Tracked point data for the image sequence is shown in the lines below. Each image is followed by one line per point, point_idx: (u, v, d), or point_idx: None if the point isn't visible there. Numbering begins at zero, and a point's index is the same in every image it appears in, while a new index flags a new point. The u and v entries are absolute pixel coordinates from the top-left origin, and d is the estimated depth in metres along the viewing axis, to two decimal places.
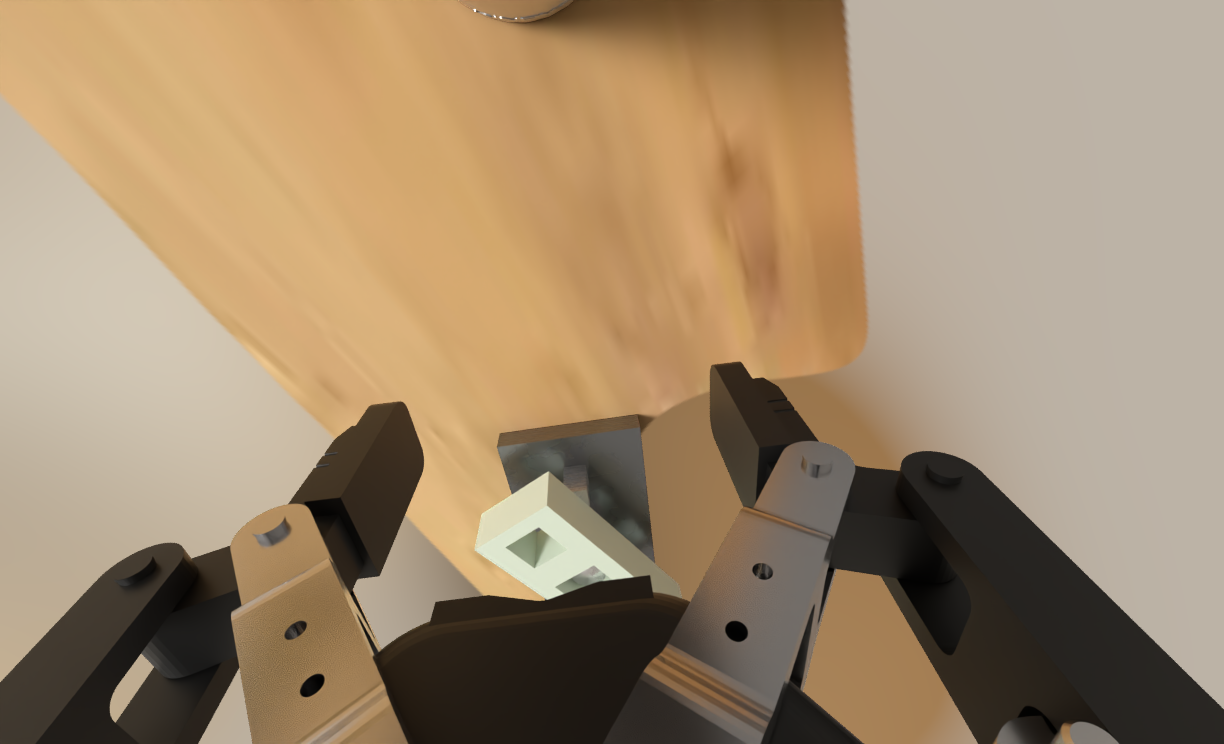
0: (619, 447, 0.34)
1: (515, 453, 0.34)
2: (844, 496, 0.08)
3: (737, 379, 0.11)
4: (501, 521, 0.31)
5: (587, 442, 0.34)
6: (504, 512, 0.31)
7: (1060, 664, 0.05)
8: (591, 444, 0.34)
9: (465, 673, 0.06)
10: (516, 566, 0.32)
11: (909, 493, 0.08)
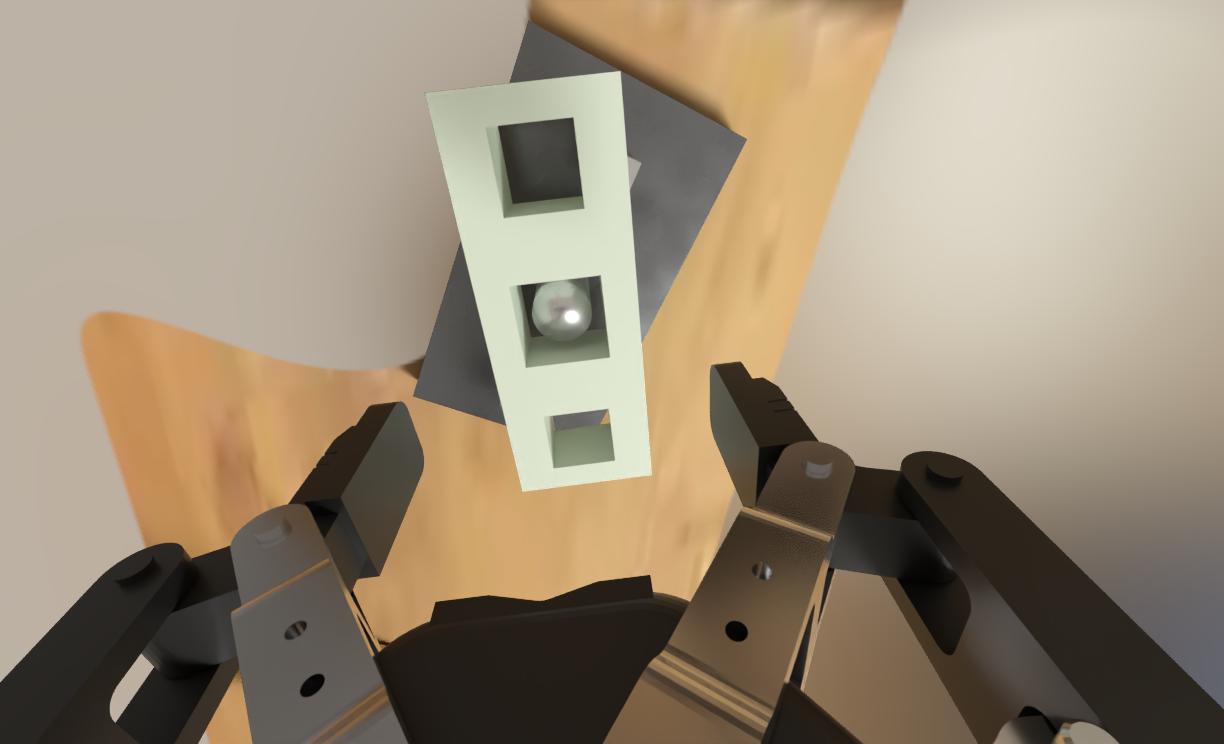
0: (450, 382, 0.25)
1: None
2: (844, 496, 0.08)
3: (737, 379, 0.11)
4: None
5: (486, 408, 0.26)
6: None
7: (1060, 664, 0.05)
8: (482, 403, 0.26)
9: (465, 673, 0.06)
10: (628, 424, 0.21)
11: (909, 493, 0.08)
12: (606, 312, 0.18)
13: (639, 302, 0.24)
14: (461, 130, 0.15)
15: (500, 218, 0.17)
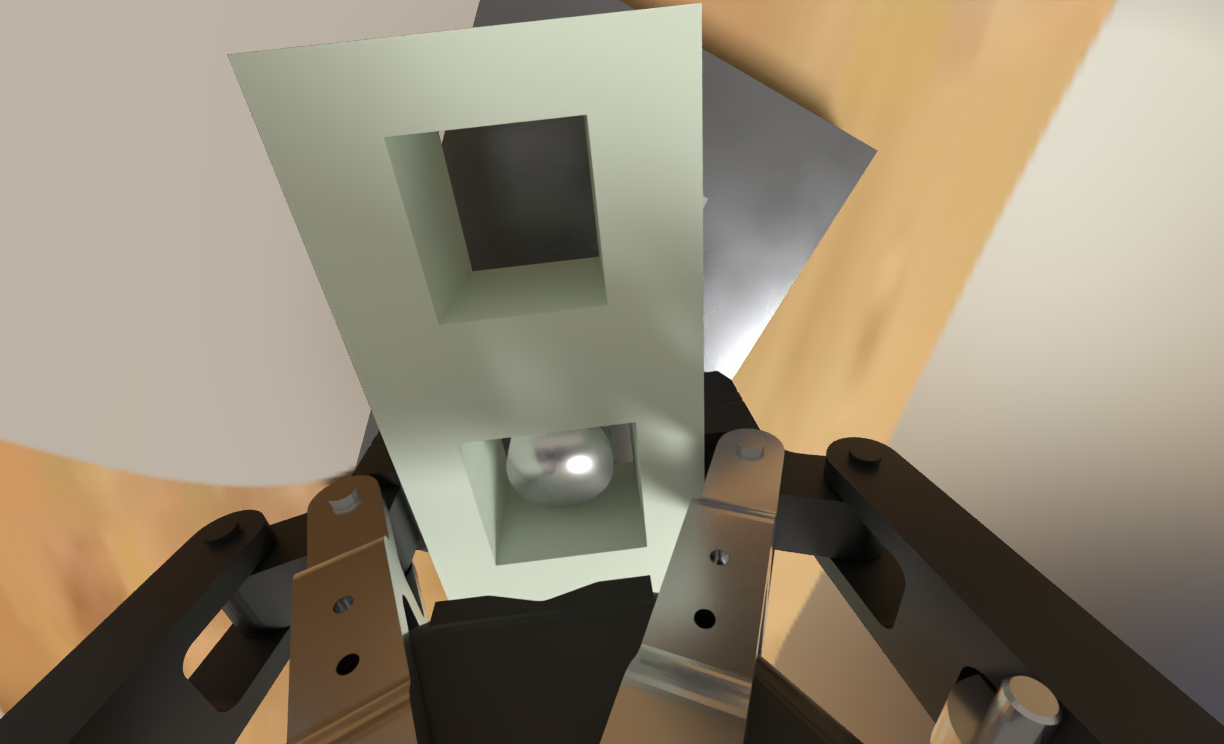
0: None
1: None
2: (769, 478, 0.08)
3: None
4: None
5: None
6: None
7: (990, 624, 0.06)
8: None
9: (465, 673, 0.06)
10: None
11: (837, 480, 0.08)
12: (644, 480, 0.10)
13: None
14: (328, 144, 0.07)
15: (432, 325, 0.08)
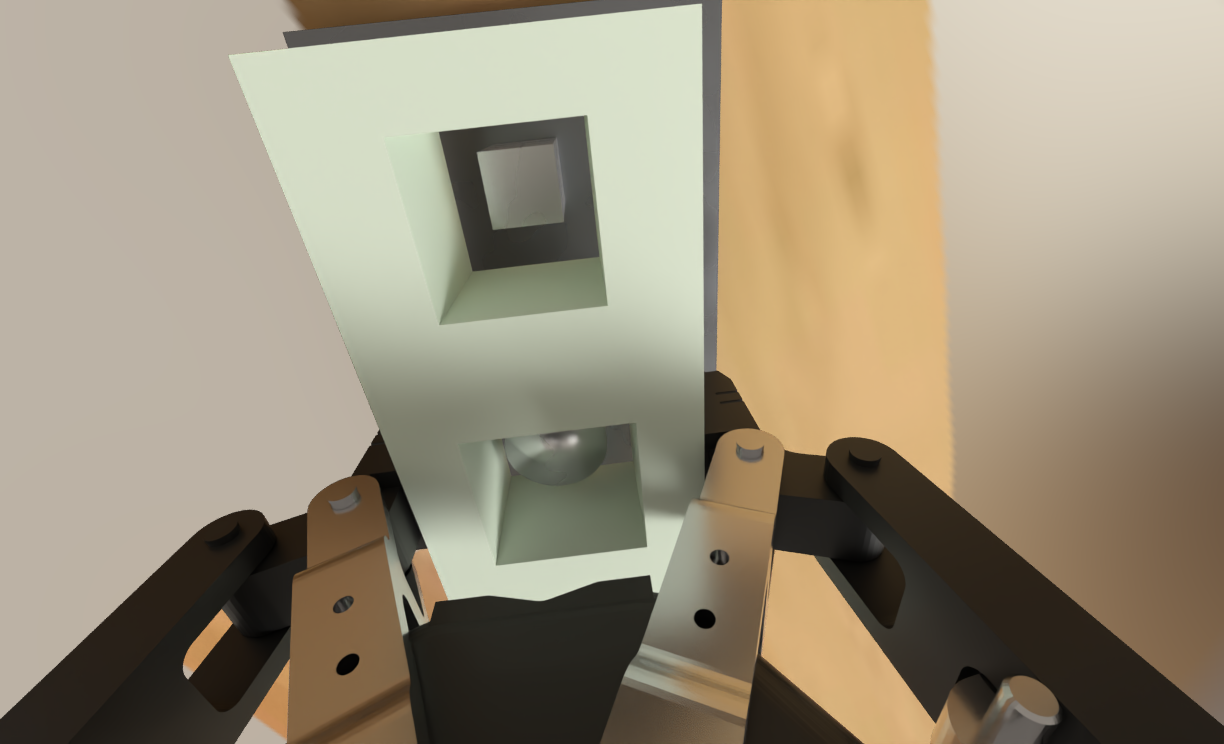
0: None
1: None
2: (769, 478, 0.08)
3: None
4: None
5: None
6: None
7: (990, 624, 0.06)
8: None
9: (465, 673, 0.06)
10: None
11: (837, 480, 0.08)
12: (644, 481, 0.10)
13: None
14: (328, 145, 0.07)
15: (432, 325, 0.08)
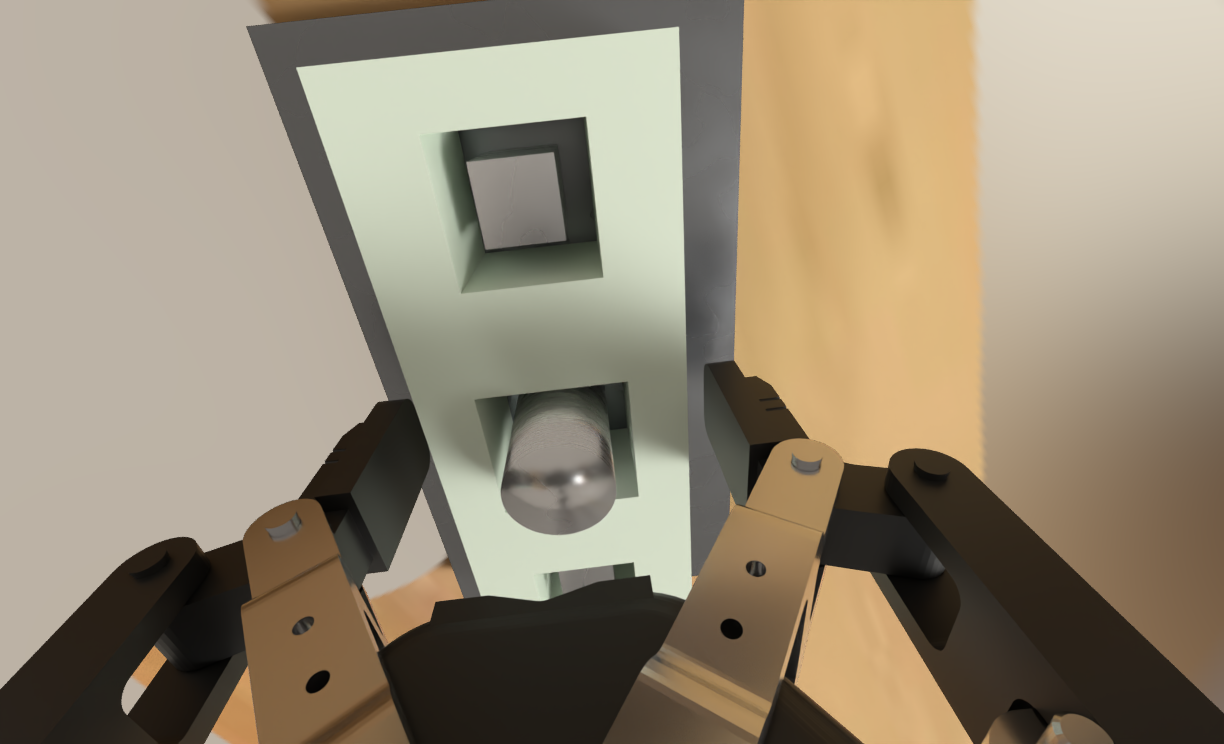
0: None
1: (698, 561, 0.18)
2: (832, 492, 0.08)
3: (730, 377, 0.11)
4: None
5: None
6: None
7: (1048, 657, 0.05)
8: None
9: (465, 673, 0.06)
10: (662, 581, 0.14)
11: (897, 490, 0.08)
12: (635, 435, 0.11)
13: (696, 356, 0.14)
14: (374, 141, 0.08)
15: (455, 293, 0.09)
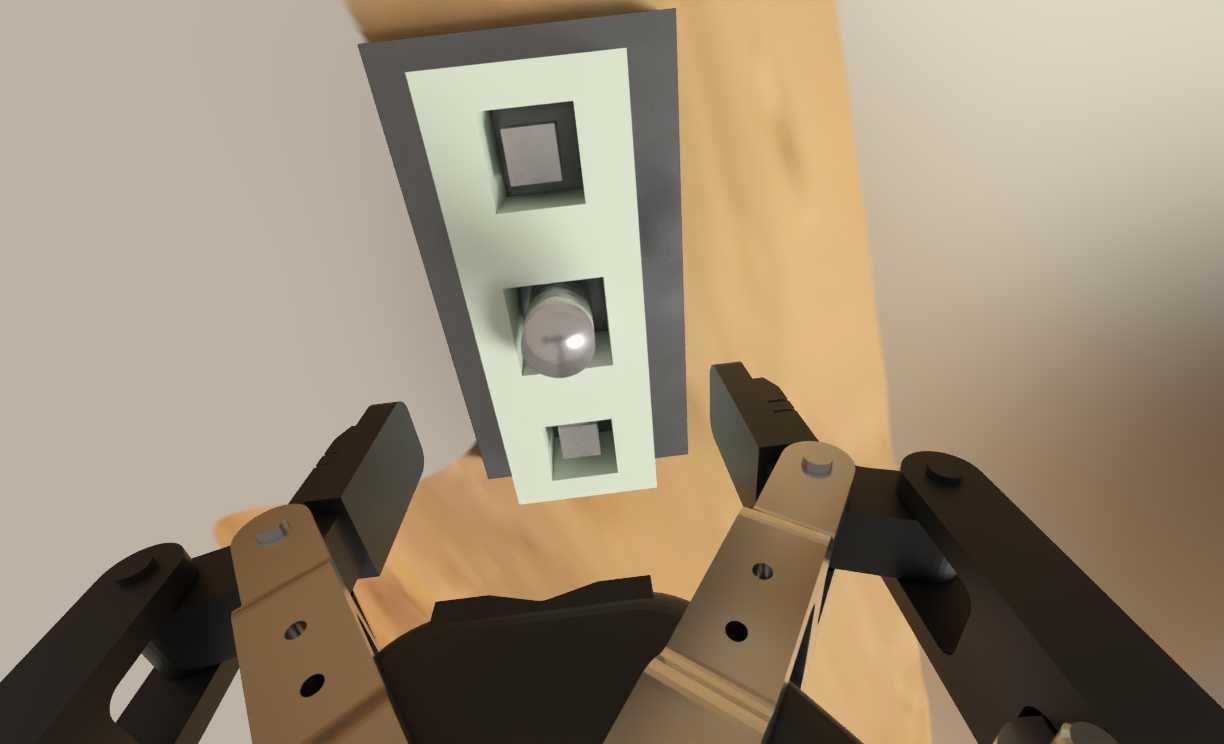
0: None
1: (665, 444, 0.24)
2: (844, 496, 0.08)
3: (737, 379, 0.11)
4: None
5: None
6: None
7: (1060, 664, 0.05)
8: None
9: (465, 673, 0.06)
10: (632, 435, 0.20)
11: (909, 493, 0.08)
12: (609, 317, 0.17)
13: (656, 275, 0.19)
14: (447, 115, 0.14)
15: (492, 214, 0.15)
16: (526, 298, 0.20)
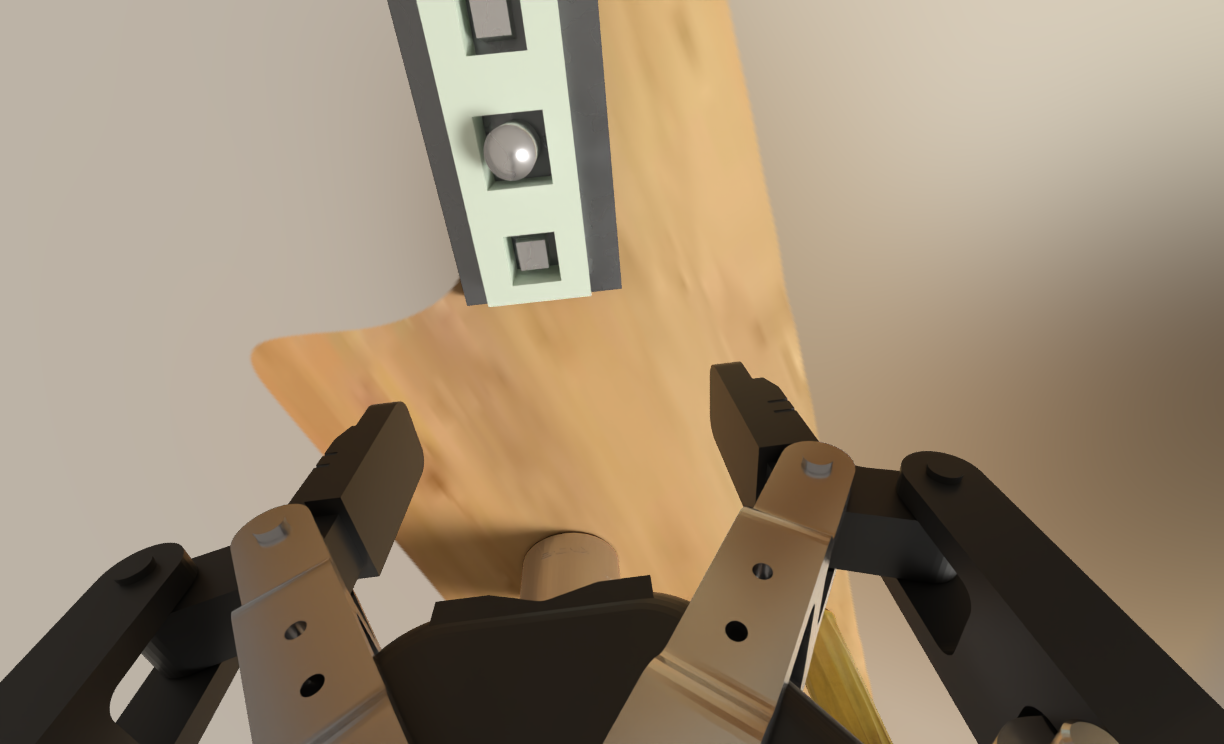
0: None
1: (603, 278, 0.31)
2: (844, 496, 0.08)
3: (737, 379, 0.11)
4: None
5: None
6: None
7: (1060, 664, 0.05)
8: None
9: (465, 673, 0.06)
10: (570, 247, 0.27)
11: (909, 493, 0.08)
12: (548, 143, 0.24)
13: (588, 127, 0.26)
14: None
15: (463, 56, 0.22)
16: None
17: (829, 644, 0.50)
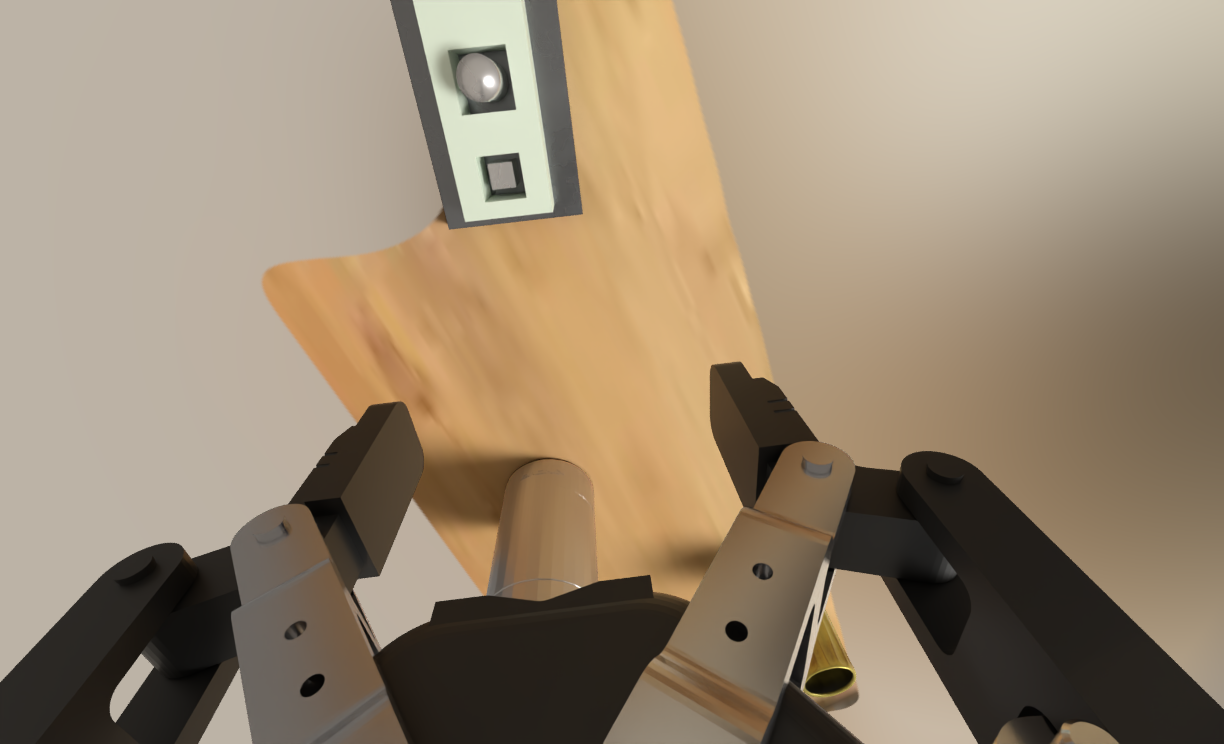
0: None
1: (566, 205, 0.36)
2: (844, 496, 0.08)
3: (737, 379, 0.11)
4: None
5: None
6: None
7: (1060, 664, 0.05)
8: None
9: (465, 673, 0.06)
10: (532, 167, 0.32)
11: (909, 493, 0.08)
12: (511, 73, 0.29)
13: (547, 67, 0.32)
14: None
15: None
16: None
17: None
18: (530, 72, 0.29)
